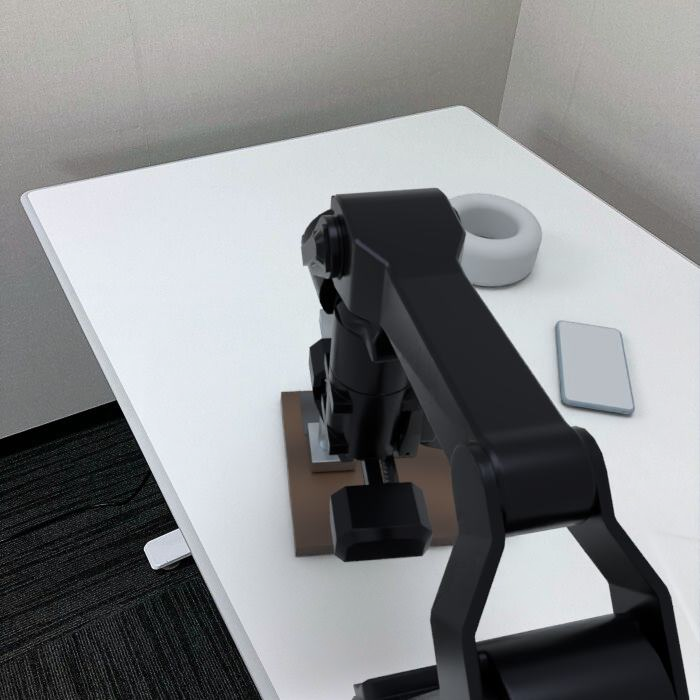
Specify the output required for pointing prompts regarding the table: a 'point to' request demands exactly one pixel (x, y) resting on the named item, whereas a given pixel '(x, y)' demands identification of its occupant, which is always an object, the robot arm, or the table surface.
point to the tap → (317, 430)
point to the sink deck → (353, 482)
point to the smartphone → (593, 367)
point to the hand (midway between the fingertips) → (354, 506)
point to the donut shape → (497, 238)
